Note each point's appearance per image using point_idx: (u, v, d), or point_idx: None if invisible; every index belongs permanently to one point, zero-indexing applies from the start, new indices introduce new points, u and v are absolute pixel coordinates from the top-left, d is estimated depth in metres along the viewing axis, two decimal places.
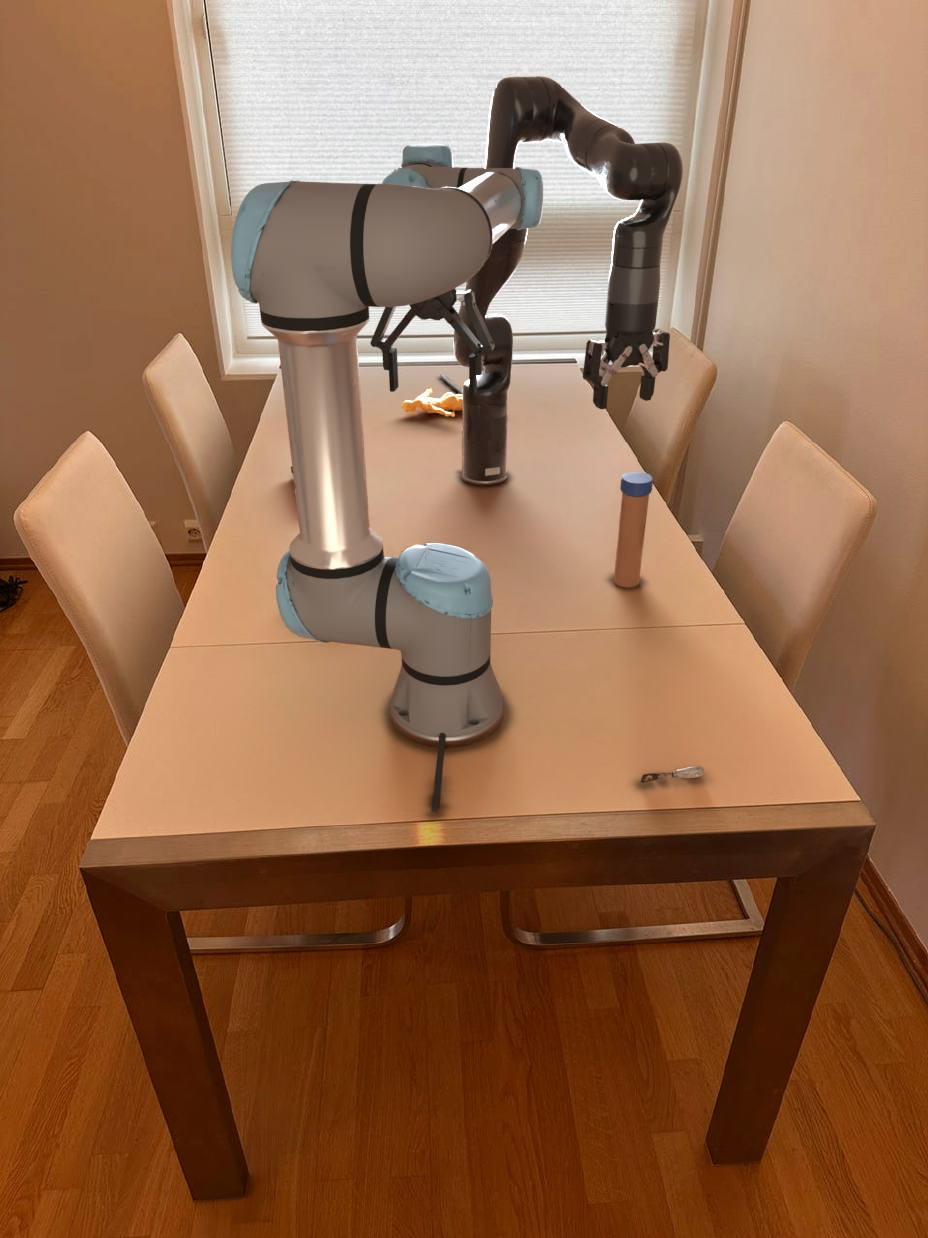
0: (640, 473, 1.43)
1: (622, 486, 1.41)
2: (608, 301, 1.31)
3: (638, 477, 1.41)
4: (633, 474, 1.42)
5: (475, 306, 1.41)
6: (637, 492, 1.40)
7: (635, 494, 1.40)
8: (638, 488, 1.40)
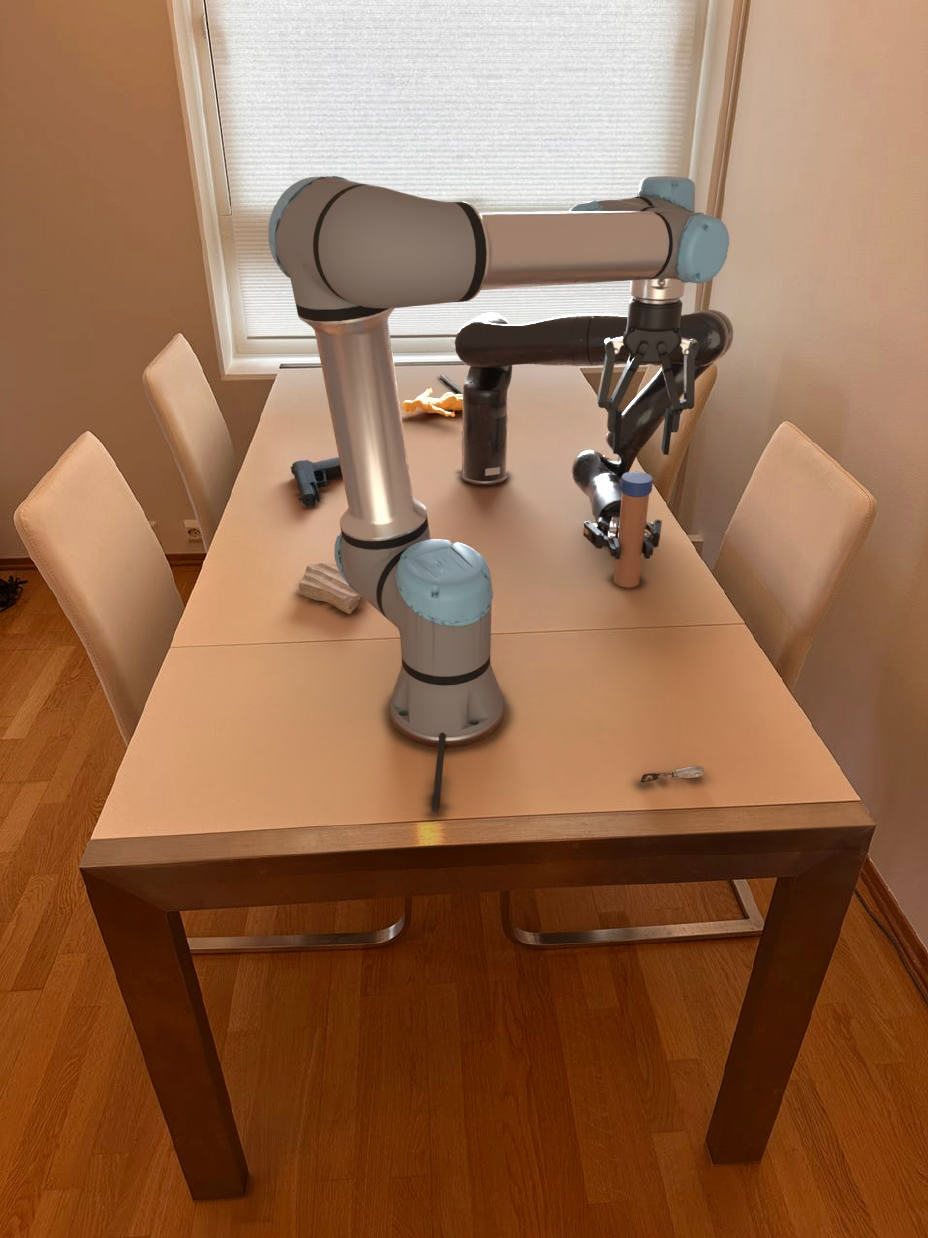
0: (640, 473, 1.43)
1: (622, 486, 1.41)
2: None
3: (638, 477, 1.41)
4: (633, 474, 1.42)
5: (606, 357, 1.31)
6: (637, 492, 1.40)
7: (635, 494, 1.40)
8: (638, 488, 1.40)
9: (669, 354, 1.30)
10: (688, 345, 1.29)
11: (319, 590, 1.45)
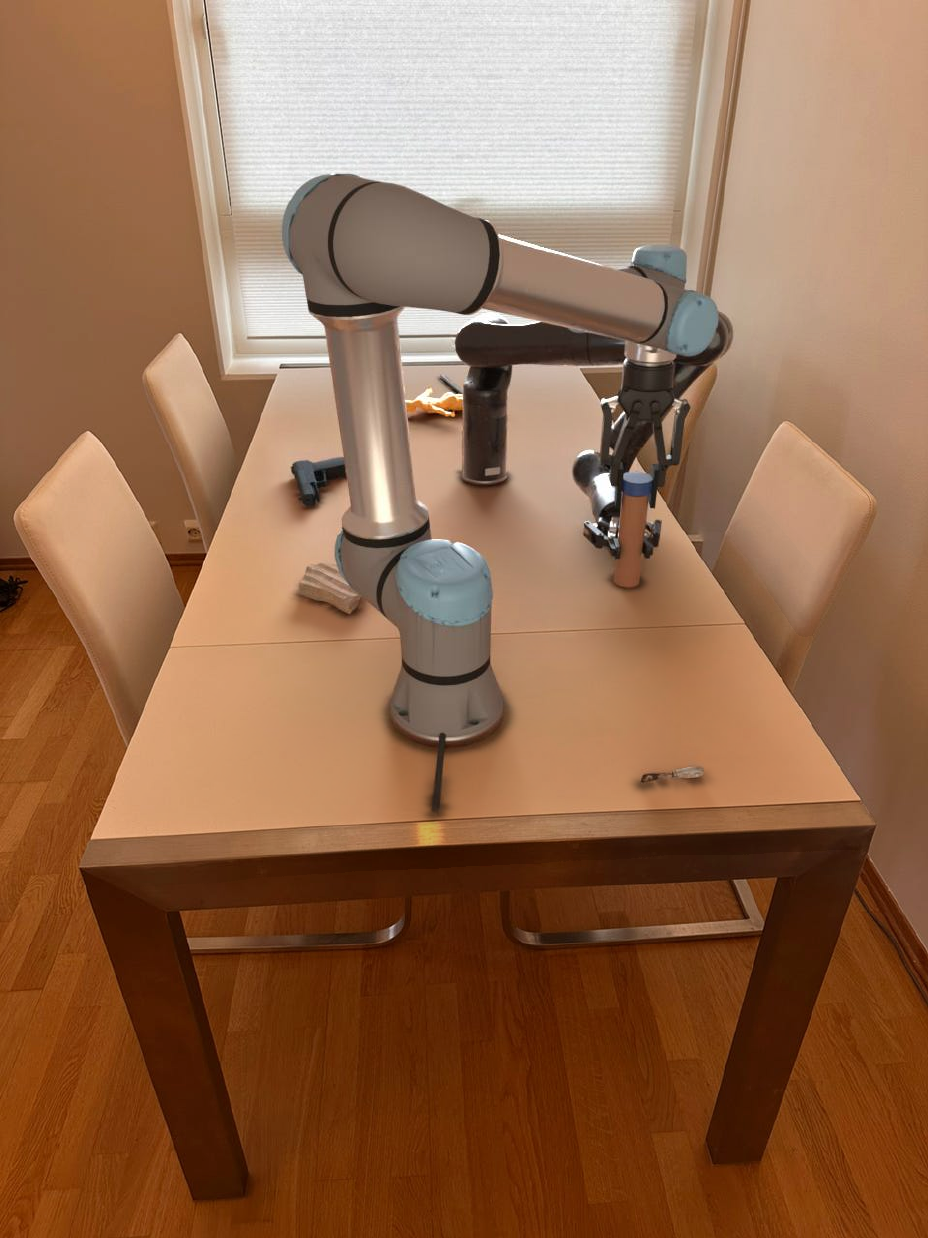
0: (640, 473, 1.43)
1: (622, 486, 1.41)
2: None
3: (638, 477, 1.41)
4: (633, 474, 1.42)
5: (603, 417, 1.36)
6: (637, 492, 1.40)
7: (635, 494, 1.40)
8: (638, 488, 1.40)
9: (662, 412, 1.34)
10: (680, 405, 1.34)
11: (319, 590, 1.45)
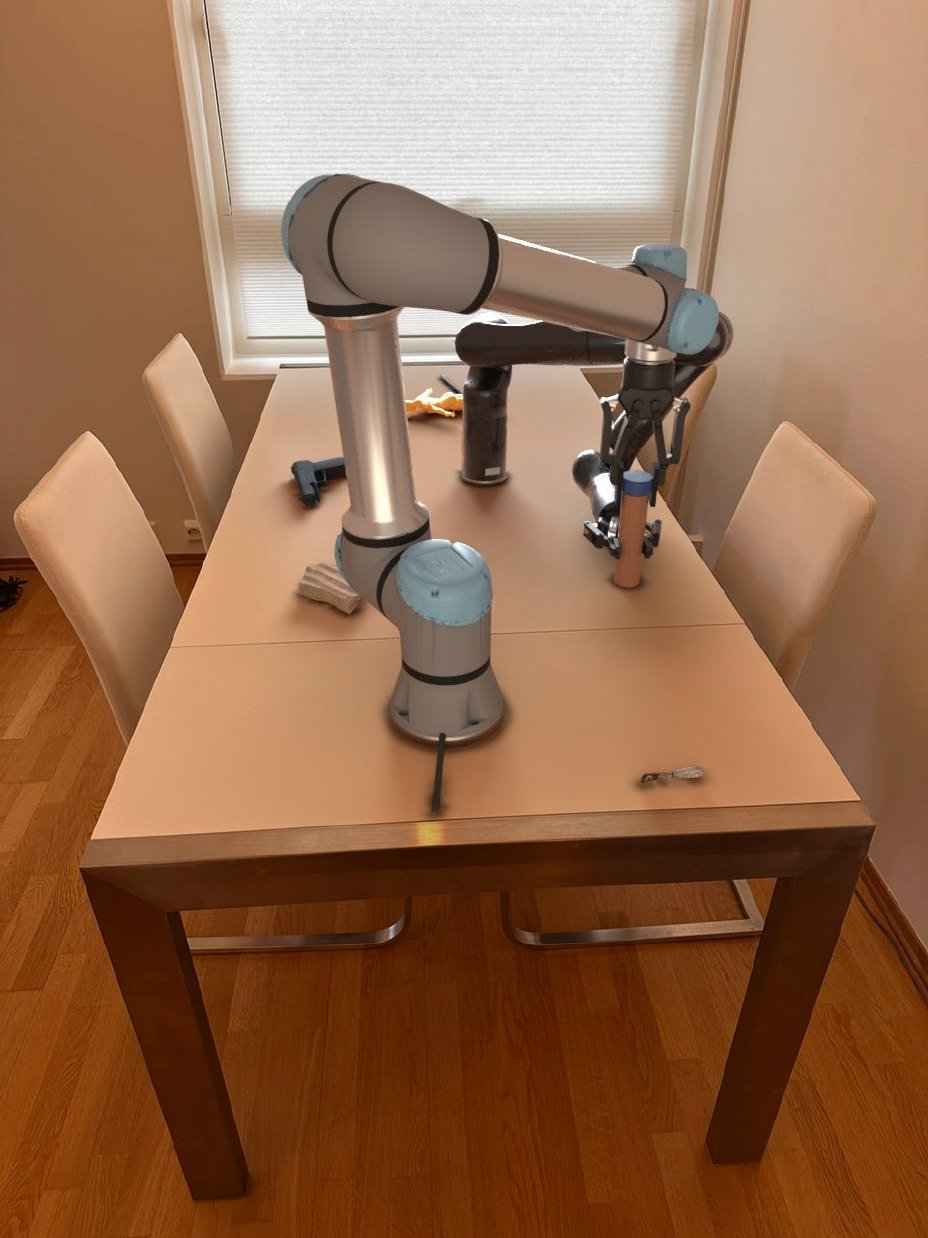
0: (626, 476, 1.41)
1: (649, 487, 1.40)
2: None
3: (636, 475, 1.41)
4: (633, 478, 1.40)
5: None
6: None
7: None
8: None
9: (662, 411, 1.34)
10: (680, 404, 1.34)
11: (319, 590, 1.45)
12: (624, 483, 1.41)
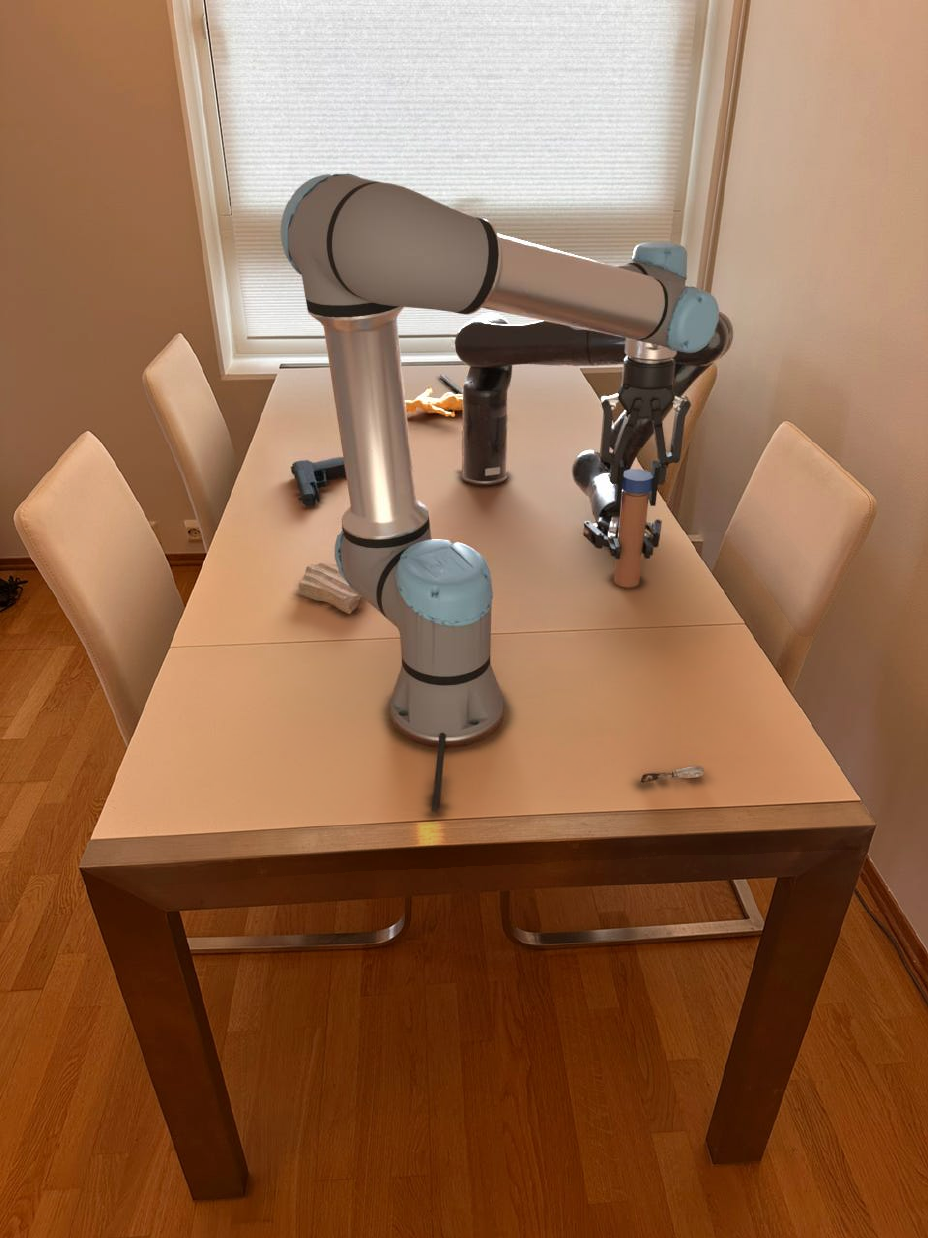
0: (645, 478, 1.40)
1: None
2: None
3: (636, 475, 1.41)
4: (645, 475, 1.41)
5: (604, 414, 1.36)
6: None
7: None
8: None
9: (663, 409, 1.34)
10: (680, 402, 1.34)
11: (319, 590, 1.45)
12: (651, 482, 1.40)
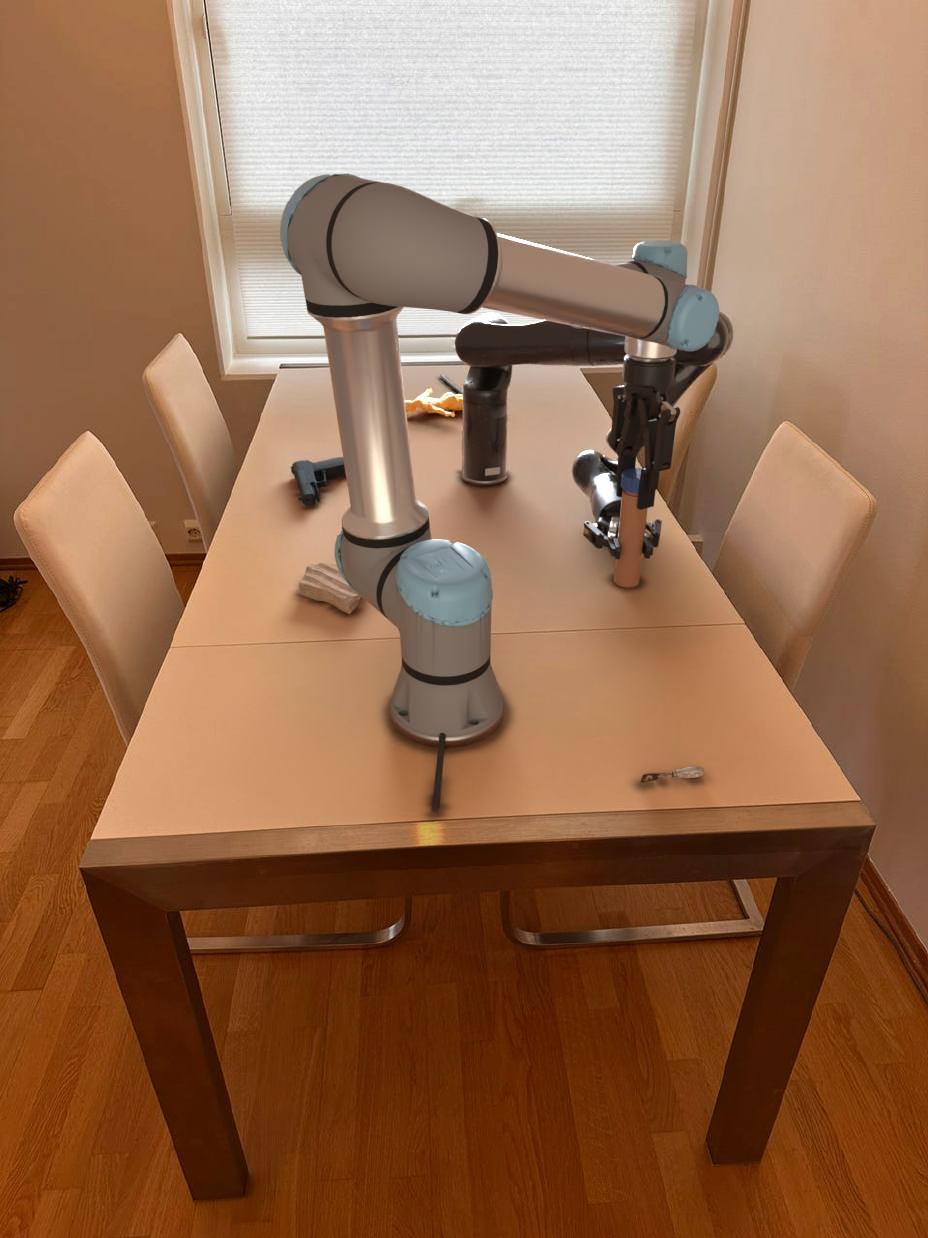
0: (639, 469, 1.42)
1: (623, 483, 1.41)
2: None
3: (638, 473, 1.41)
4: (632, 471, 1.42)
5: (671, 424, 1.31)
6: None
7: (637, 490, 1.40)
8: None
9: None
10: None
11: (319, 590, 1.45)
12: None
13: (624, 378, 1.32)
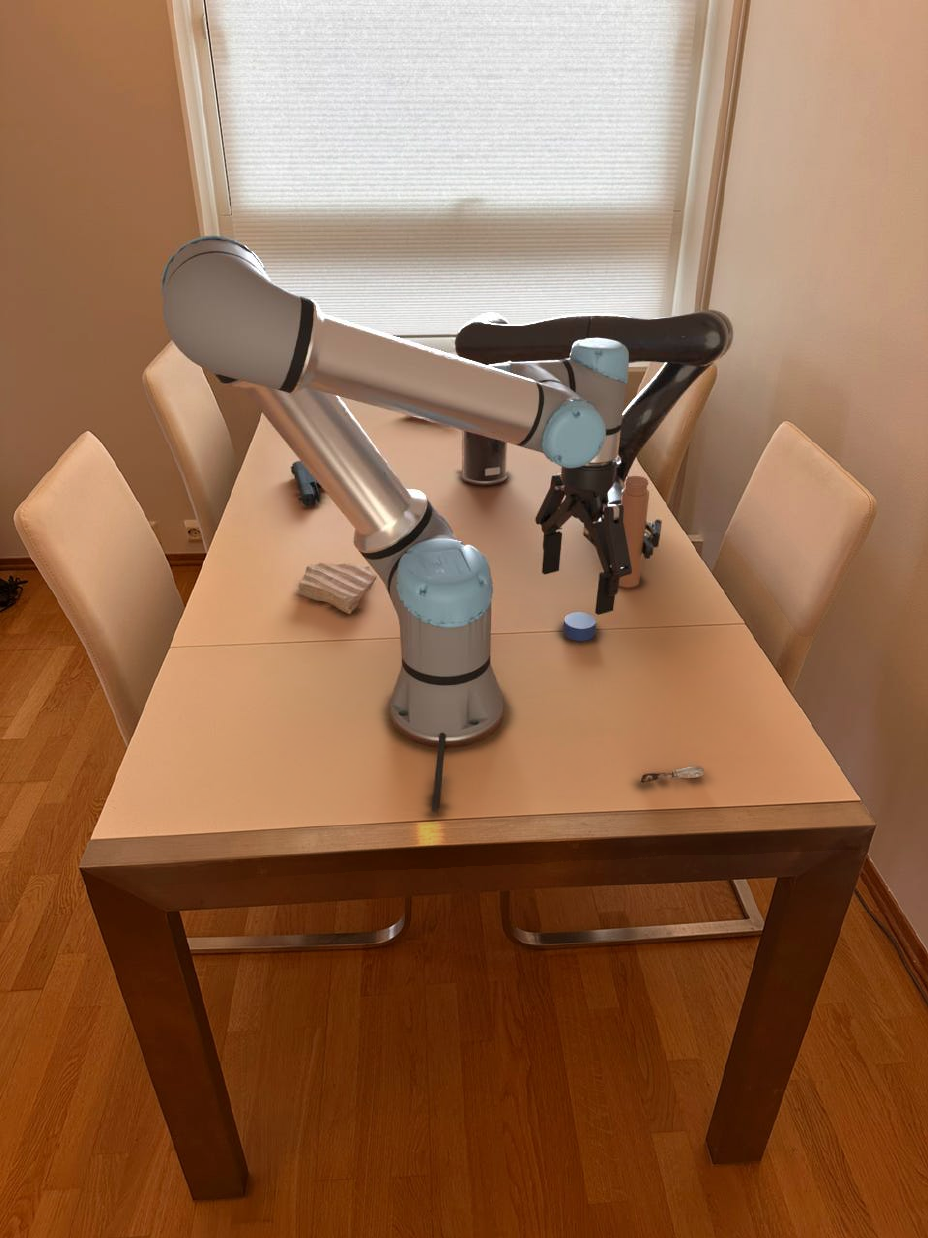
0: (582, 614, 1.38)
1: (565, 630, 1.36)
2: None
3: (581, 620, 1.37)
4: (575, 616, 1.38)
5: (618, 523, 1.21)
6: (582, 637, 1.35)
7: (580, 639, 1.36)
8: (582, 633, 1.35)
9: None
10: None
11: (319, 590, 1.45)
12: None
13: (562, 480, 1.23)
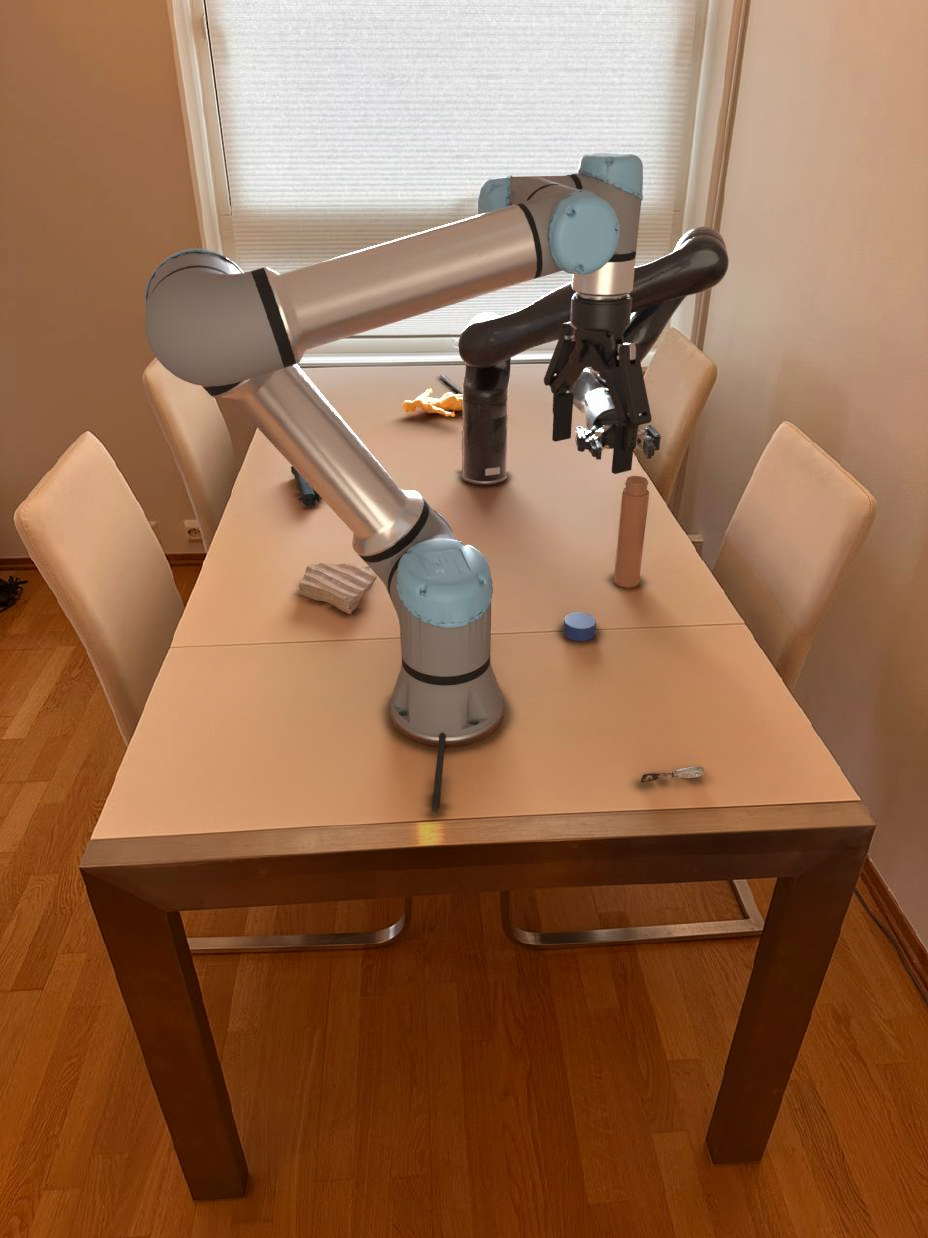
0: (582, 614, 1.38)
1: (565, 630, 1.36)
2: None
3: (581, 620, 1.37)
4: (575, 616, 1.38)
5: (635, 364, 1.10)
6: (582, 637, 1.35)
7: (580, 639, 1.36)
8: (582, 633, 1.35)
9: None
10: None
11: (319, 590, 1.45)
12: None
13: (572, 321, 1.12)
